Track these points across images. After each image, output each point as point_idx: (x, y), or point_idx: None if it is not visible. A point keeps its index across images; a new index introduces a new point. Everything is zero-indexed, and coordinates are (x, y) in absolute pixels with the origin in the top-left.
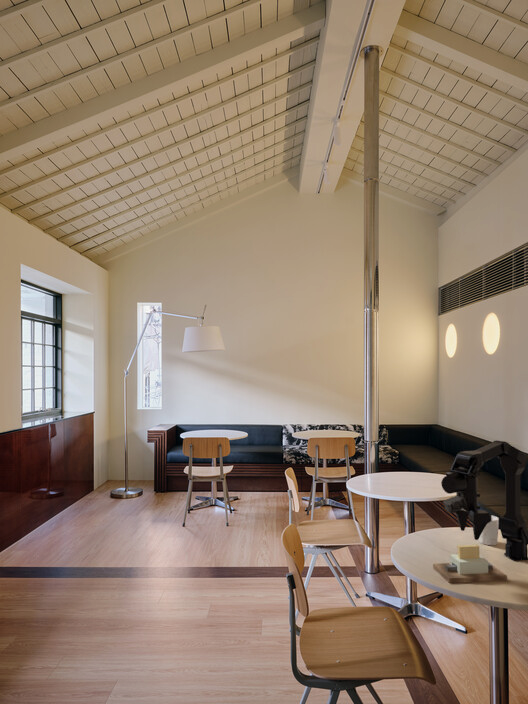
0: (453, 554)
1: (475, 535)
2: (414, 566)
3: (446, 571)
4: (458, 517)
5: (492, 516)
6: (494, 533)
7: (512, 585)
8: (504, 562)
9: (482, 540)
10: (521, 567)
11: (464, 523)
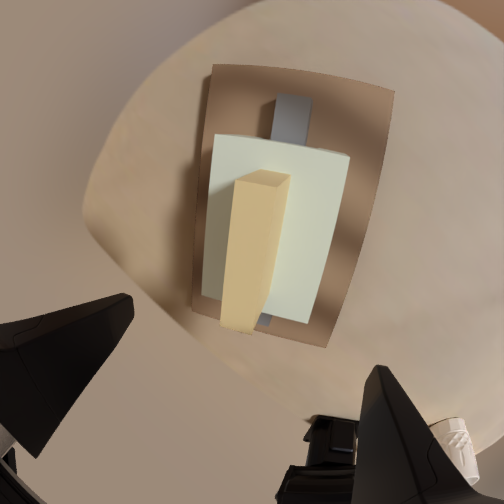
0: (339, 179)
1: (86, 305)
2: (423, 34)
3: (286, 92)
4: (414, 477)
5: None
6: None
7: (163, 286)
8: (324, 393)
9: (450, 425)
10: (274, 400)
11: (365, 443)
